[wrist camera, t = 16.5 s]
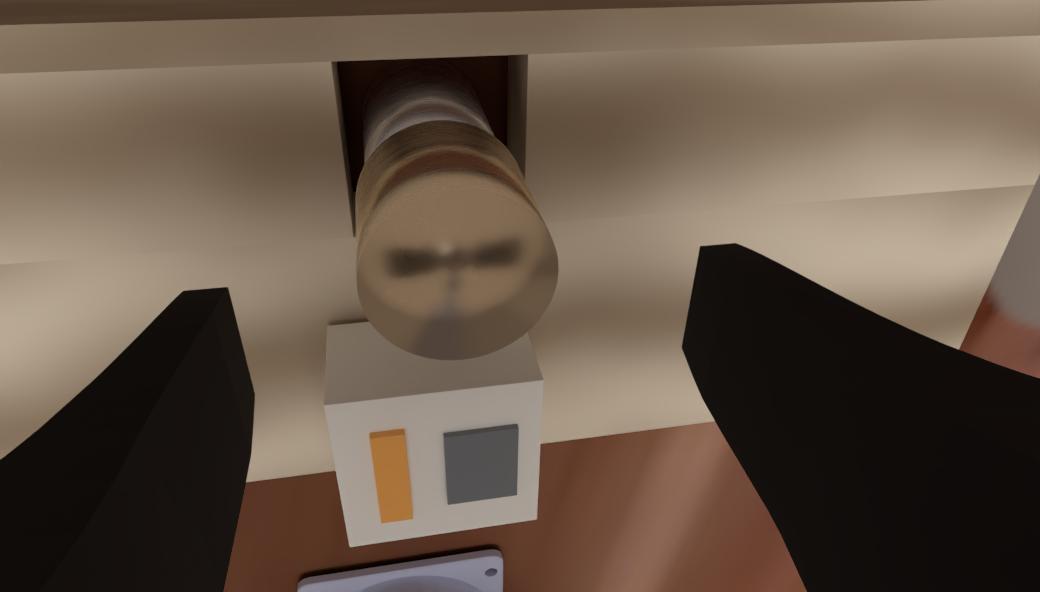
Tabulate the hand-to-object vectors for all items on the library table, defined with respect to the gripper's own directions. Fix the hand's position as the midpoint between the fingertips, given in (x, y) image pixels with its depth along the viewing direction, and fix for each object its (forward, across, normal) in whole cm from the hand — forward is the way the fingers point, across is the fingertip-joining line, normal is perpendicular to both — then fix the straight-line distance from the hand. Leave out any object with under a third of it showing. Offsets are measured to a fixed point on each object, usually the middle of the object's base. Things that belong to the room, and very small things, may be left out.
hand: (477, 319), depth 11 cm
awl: (+9, 0, 0) cm, 9 cm away
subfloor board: (+9, -2, +4) cm, 10 cm away
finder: (+6, 0, +7) cm, 9 cm away
